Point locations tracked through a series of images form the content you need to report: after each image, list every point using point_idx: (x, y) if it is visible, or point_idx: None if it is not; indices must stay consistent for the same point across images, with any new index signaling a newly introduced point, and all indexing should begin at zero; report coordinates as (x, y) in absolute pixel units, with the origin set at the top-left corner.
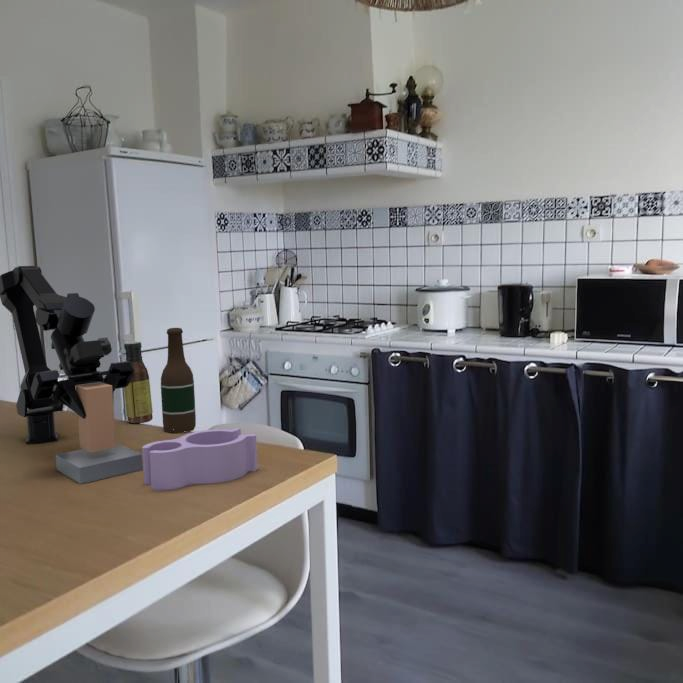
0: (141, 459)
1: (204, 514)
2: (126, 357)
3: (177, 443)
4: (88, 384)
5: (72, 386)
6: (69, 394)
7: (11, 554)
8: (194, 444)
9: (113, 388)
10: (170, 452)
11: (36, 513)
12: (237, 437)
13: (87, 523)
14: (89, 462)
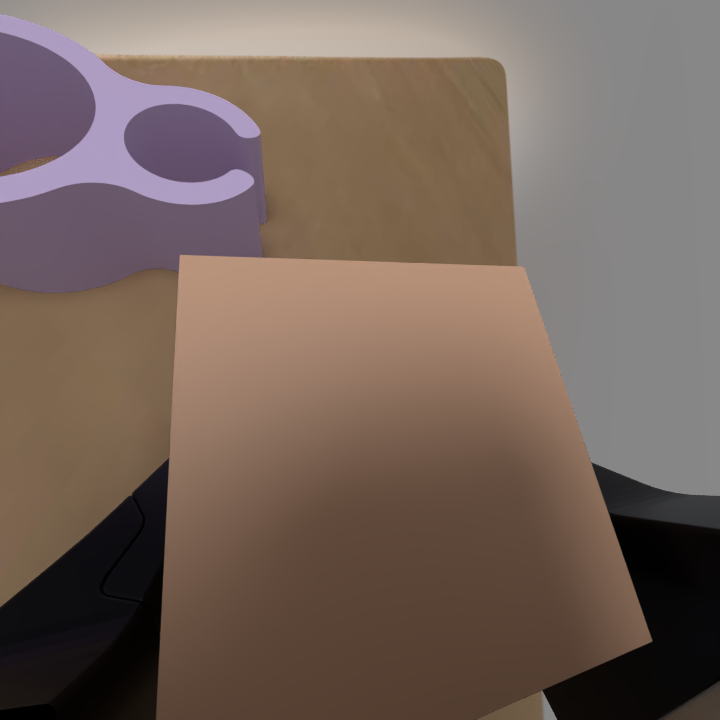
0: None
1: (254, 73)
2: None
3: (126, 148)
4: (470, 680)
5: (690, 515)
6: (615, 472)
7: (505, 157)
8: (97, 89)
9: (34, 582)
10: (211, 95)
11: (475, 258)
12: None
13: (414, 169)
14: None
